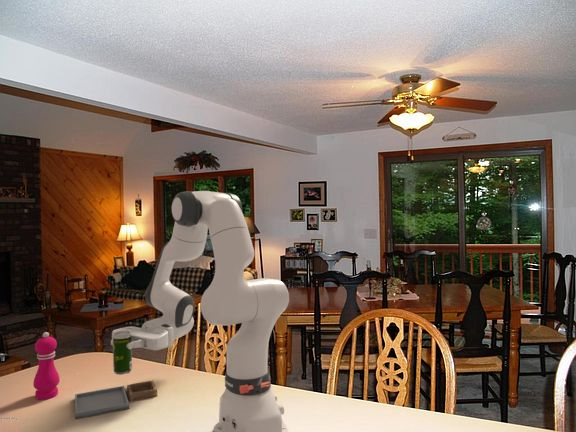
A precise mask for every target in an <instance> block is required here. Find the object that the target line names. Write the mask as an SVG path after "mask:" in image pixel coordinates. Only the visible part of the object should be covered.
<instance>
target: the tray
mask: <svg viewBox="0 0 576 432" xmlns="http://www.w3.org/2000/svg"><path fill="white" fill-rule="evenodd" d="M126 391H127V390H126V388H125V386H124V385H122V386H114V387H109V388H108V387H107V388H104V389H97V390H92V391H85V392H81V393H74V409H75V410H74V413H75V414H74V415H75V416H74V419H75V420H78V419H82V418H89V417H92V416H98V415H104V414H109V413H113V412H118V411H123V410H128V409H129V410H130V401H129V399H128V398H129V397H128V394H127V393H126Z"/></svg>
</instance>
